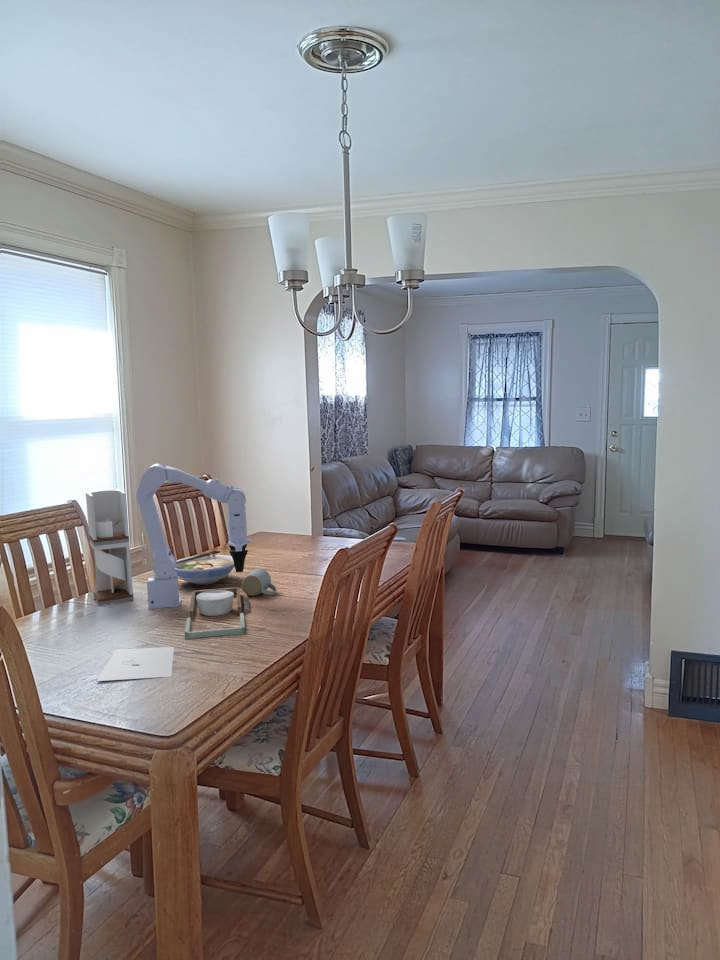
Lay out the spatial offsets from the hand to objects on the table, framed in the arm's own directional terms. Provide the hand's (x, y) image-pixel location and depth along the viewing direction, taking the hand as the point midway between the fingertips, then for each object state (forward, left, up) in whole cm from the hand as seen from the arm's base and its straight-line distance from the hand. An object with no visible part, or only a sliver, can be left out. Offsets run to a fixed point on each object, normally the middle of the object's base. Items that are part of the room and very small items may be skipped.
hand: (239, 569), depth 229 cm
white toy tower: (-41, +12, -10) cm, 44 cm away
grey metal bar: (+2, -10, -10) cm, 14 cm away
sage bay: (-8, -28, -10) cm, 30 cm away
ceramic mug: (+6, +4, -10) cm, 13 cm away
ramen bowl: (-12, +24, -10) cm, 29 cm away
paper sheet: (-20, -51, -10) cm, 56 cm away
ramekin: (-8, -12, -10) cm, 17 cm away
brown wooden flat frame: (-8, -7, -10) cm, 14 cm away
